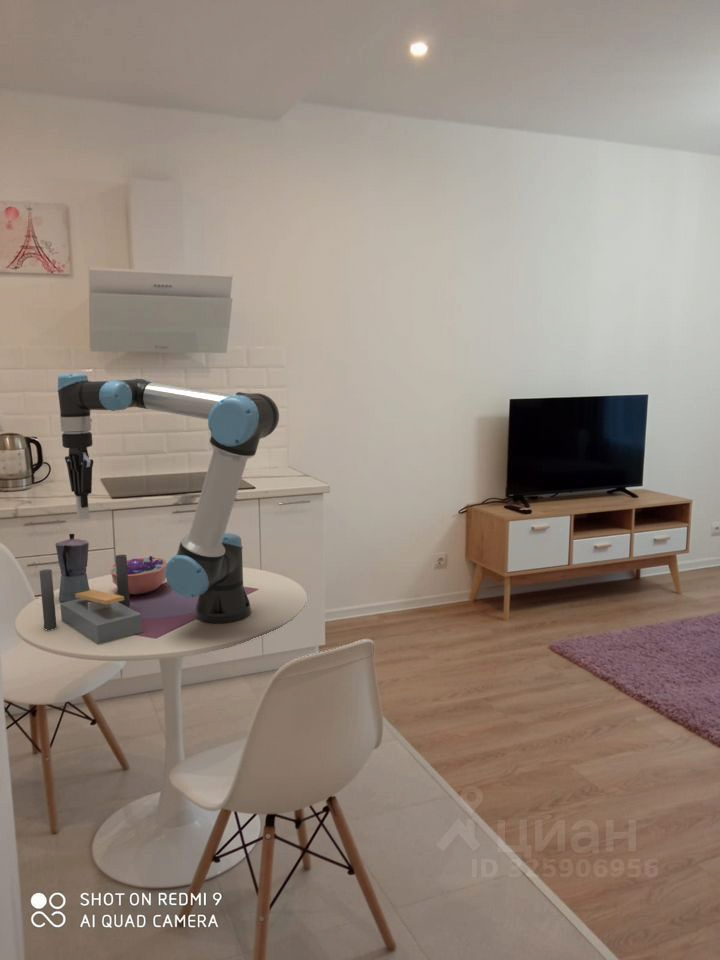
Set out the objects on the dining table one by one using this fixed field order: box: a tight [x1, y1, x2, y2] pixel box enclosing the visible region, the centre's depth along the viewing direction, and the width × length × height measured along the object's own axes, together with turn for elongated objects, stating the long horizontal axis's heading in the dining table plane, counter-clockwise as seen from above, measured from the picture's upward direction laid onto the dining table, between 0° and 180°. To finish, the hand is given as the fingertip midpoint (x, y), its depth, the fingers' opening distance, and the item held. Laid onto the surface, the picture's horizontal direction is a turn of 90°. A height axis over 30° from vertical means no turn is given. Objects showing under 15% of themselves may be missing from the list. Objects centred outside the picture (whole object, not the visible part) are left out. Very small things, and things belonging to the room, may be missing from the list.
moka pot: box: [55, 533, 90, 603], centre depth 223 cm, size 10×15×20 cm, turn 10°
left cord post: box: [39, 568, 57, 631], centre depth 200 cm, size 3×3×16 cm
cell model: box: [110, 555, 168, 596], centre depth 231 cm, size 17×20×11 cm
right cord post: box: [115, 554, 131, 608], centre depth 214 cm, size 3×3×16 cm
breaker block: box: [59, 599, 143, 645], centre depth 202 cm, size 24×12×7 cm, turn 43°
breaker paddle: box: [75, 589, 124, 604], centre depth 201 cm, size 20×5×1 cm, turn 42°
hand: (83, 518), depth 204 cm, fingers closed
